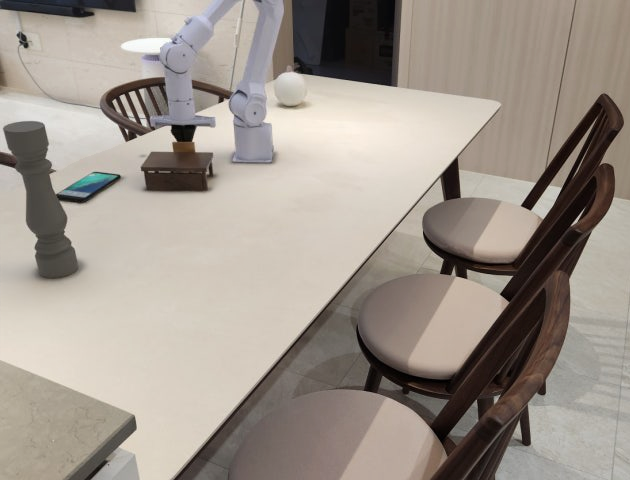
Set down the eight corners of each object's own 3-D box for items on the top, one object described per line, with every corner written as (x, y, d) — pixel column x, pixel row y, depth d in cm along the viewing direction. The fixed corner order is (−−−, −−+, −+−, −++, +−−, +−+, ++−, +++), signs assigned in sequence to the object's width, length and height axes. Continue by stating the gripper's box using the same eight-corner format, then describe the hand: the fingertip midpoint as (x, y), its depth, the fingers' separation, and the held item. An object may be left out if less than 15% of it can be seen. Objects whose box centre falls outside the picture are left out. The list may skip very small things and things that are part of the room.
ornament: (279, 99, 207) (278, 61, 201) (310, 102, 206) (309, 64, 200) (271, 108, 199) (269, 68, 192) (303, 110, 198) (302, 71, 191)
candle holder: (46, 260, 111) (10, 120, 99) (83, 260, 112) (52, 120, 99) (33, 278, 106) (-7, 132, 93) (72, 278, 107) (37, 132, 94)
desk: (215, 174, 149) (213, 152, 146) (208, 191, 141) (206, 167, 138) (154, 174, 148) (151, 151, 145) (144, 190, 140) (140, 167, 137)
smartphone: (52, 195, 133) (94, 170, 146) (53, 199, 134) (94, 174, 146) (82, 199, 132) (122, 174, 145) (83, 203, 133) (122, 177, 145)
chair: (197, 170, 151) (194, 141, 147) (193, 179, 146) (189, 150, 142) (176, 169, 150) (172, 141, 147) (170, 179, 145) (167, 150, 142)
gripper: (215, 94, 148) (220, 150, 155) (152, 93, 147) (159, 149, 154) (210, 102, 142) (216, 160, 149) (144, 101, 141) (153, 159, 148)
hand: (187, 155), depth 151 cm, fingers closed, pressing on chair
